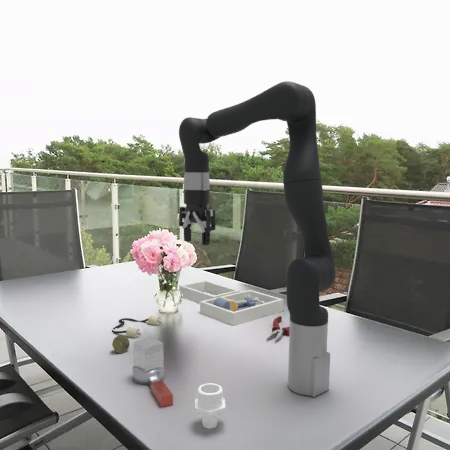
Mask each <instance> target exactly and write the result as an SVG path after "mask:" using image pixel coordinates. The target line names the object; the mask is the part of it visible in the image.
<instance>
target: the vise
mask: <svg viewBox="0 0 450 450" xmlns="http://www.w3.org/2000/svg"><path fill="white" fill-rule="evenodd" d="M255 302H260V303H261V304H264V303H265V302H264V301H259V299H258V297H256V298H252V297H251V296H250V295H247V298H244V299H242V300H240V301H234V300H230V299H227V298H225V297H219V298H216V299H215V301H214V304H213V305H216V306H218V307H221V308H224V309H227V310H230V311H233V312H235V311H238V310H242V309H246V308H249V307H253V306H257V304H256V303H255Z"/></svg>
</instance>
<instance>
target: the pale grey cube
mask: <svg viewBox="0 0 450 450" xmlns="http://www.w3.org/2000/svg"><path fill="white" fill-rule="evenodd" d="M164 361H165V360H164V342H162V341H160V340H158V339H157V338H155V337H152V336H150V337H148V338H143V339H140V340H136V341H133V366H134V367H136V368H137V369H139V370H141V371H142V372H144V373H148V372H151V371H154V370H157V369H160V368H163V367H164V368H165V364H164Z"/></svg>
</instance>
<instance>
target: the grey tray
mask: <svg viewBox="0 0 450 450" xmlns="http://www.w3.org/2000/svg"><path fill="white" fill-rule="evenodd" d="M178 291H181V293H182V294H183V297H182V298H184V299H187V300H190V301H192V302H195V303H198V304H200V301H204V300H209V299H213V298H217V297H221V296H226V295H230V294H234V293H238V292H241V290H239V289H236V288H232V287H229V286H225V285H222V284H219V283H214V282H212V281H208V280H201V281H196V282H191V283H185V284H181V285H179V289H178Z"/></svg>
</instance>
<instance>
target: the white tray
mask: <svg viewBox="0 0 450 450" xmlns="http://www.w3.org/2000/svg"><path fill="white" fill-rule="evenodd" d="M247 295H250V296H251V297H252V298H256V297H258V299H259V301H264V302H265V303H264V304H261V303H260V302H255V303H256V306H253V307H249V308H246V309H242V310H238V311H235V312H233V311H230V310H227V309H224V308H221V307H218V306H216V305H213V304H214V301H215V299H216V298H213V299H209V300H204V301H200V303H199V314H201V315H203V316H207V317H209V318H212V319H214V320H216V321H220V322H223V323H225V324H228V325H231V326H233V327H234V326H238V325H241V324H245V323H247V322H251V321H255V320H257V319H261V318H265V317H267V316H270V315H274V314H277V313H281V312H283V311H284V304H285V303H284V302H285V301H284V299H283V298H280V297H276V296H272V295H269V294H266V293H262V292H259V291H255V290H252V289H248V290H243V291H240V292H238V293H234V294H230V295H226V296H221V297H225V298H227V299H230V300H234V301H240V300H242V299H244V298H247ZM217 298H219V297H217Z"/></svg>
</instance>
